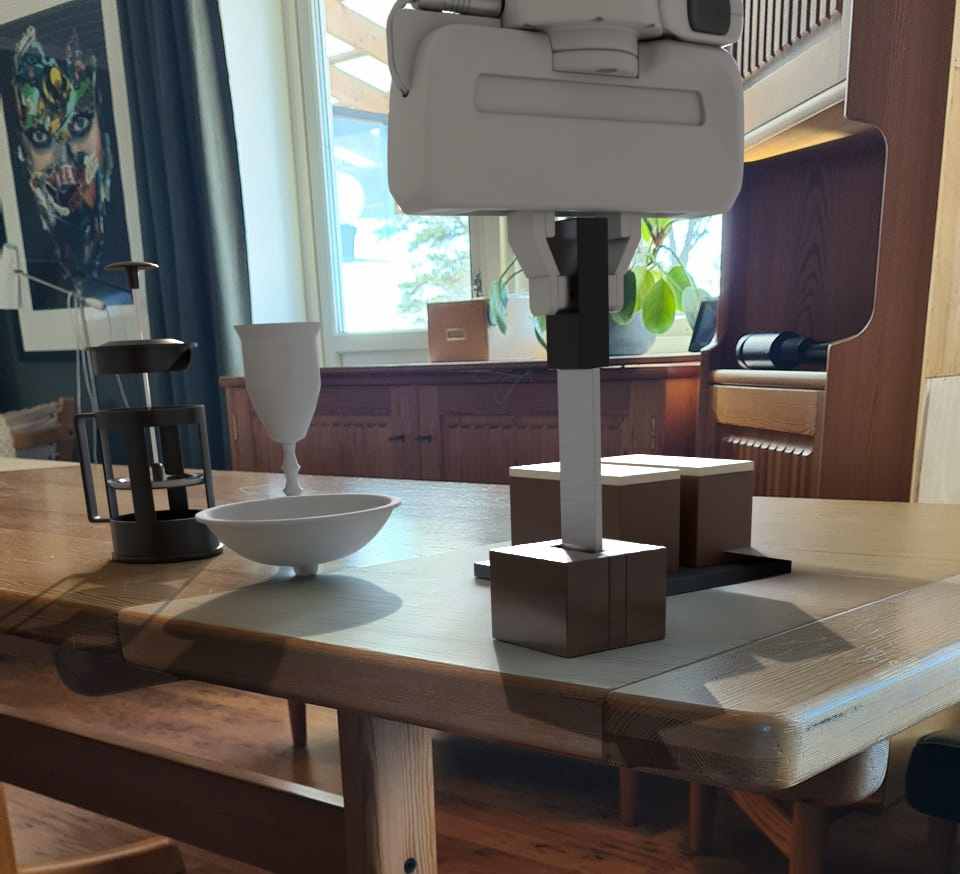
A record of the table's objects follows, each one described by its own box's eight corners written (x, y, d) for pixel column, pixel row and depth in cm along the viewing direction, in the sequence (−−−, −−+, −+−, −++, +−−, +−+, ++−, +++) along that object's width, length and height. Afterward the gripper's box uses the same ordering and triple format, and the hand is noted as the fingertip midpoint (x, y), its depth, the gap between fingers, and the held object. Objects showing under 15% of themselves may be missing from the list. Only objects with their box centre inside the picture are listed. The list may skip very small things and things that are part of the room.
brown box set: (639, 550, 102) (639, 451, 99) (791, 573, 90) (797, 459, 87) (473, 576, 94) (469, 468, 91) (616, 604, 81) (616, 480, 78)
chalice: (243, 554, 109) (218, 325, 102) (273, 542, 115) (252, 326, 108) (324, 554, 107) (304, 321, 101) (351, 542, 113) (334, 322, 107)
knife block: (586, 620, 77) (585, 535, 75) (666, 638, 72) (667, 547, 70) (491, 638, 73) (488, 549, 71) (567, 658, 68) (566, 562, 66)
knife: (579, 556, 73) (572, 223, 66) (613, 561, 70) (609, 217, 64) (551, 560, 72) (541, 223, 65) (585, 566, 69) (578, 216, 63)
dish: (289, 553, 108) (283, 492, 106) (441, 558, 102) (438, 493, 101) (158, 590, 93) (148, 519, 92) (327, 598, 88) (321, 523, 86)
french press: (243, 545, 114) (213, 262, 106) (213, 561, 106) (177, 254, 97) (116, 548, 115) (76, 269, 107) (76, 565, 107) (29, 262, 98)
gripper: (423, -42, 53) (443, 317, 58) (768, 4, 64) (760, 305, 69) (348, -5, 58) (373, 323, 63) (681, 32, 69) (679, 311, 74)
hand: (577, 314), depth 66 cm, fingers closed on knife, 2 cm apart
